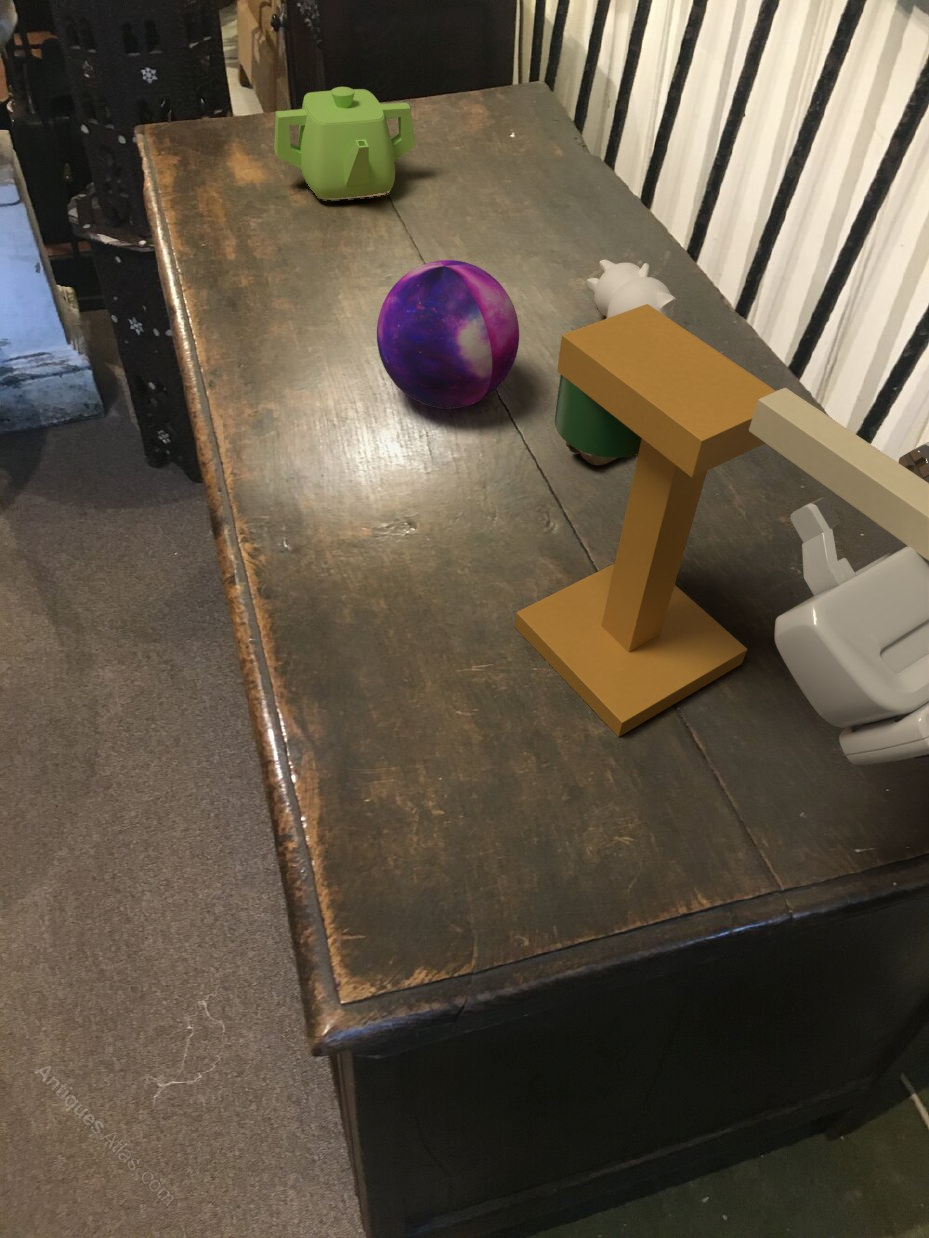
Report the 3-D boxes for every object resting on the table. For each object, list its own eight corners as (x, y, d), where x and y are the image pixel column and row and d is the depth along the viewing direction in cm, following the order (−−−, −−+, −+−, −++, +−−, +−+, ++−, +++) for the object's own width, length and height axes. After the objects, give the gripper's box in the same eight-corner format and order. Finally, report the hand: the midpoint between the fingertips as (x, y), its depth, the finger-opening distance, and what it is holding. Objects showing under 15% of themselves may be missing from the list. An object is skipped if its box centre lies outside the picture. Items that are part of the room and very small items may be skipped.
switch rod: (983, 565, 53) (1006, 527, 51) (951, 585, 52) (974, 547, 50) (775, 420, 61) (788, 383, 59) (744, 434, 60) (756, 397, 58)
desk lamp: (742, 664, 83) (845, 401, 63) (618, 737, 78) (689, 475, 58) (606, 541, 93) (659, 280, 73) (487, 599, 87) (509, 333, 67)
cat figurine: (609, 234, 115) (656, 281, 107) (667, 270, 121) (716, 316, 113) (566, 298, 119) (609, 347, 111) (625, 329, 125) (669, 378, 117)
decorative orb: (452, 343, 115) (457, 220, 104) (541, 402, 108) (556, 276, 97) (351, 389, 108) (344, 262, 97) (438, 455, 101) (441, 326, 90)
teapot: (433, 214, 137) (435, 117, 127) (291, 228, 132) (282, 128, 123) (402, 159, 148) (401, 66, 139) (271, 170, 144) (261, 75, 134)
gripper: (1139, 600, 56) (1014, 395, 57) (914, 762, 48) (773, 519, 49) (1045, 627, 62) (933, 441, 63) (829, 777, 54) (706, 559, 55)
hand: (861, 476), depth 56 cm, fingers open, 8 cm apart
